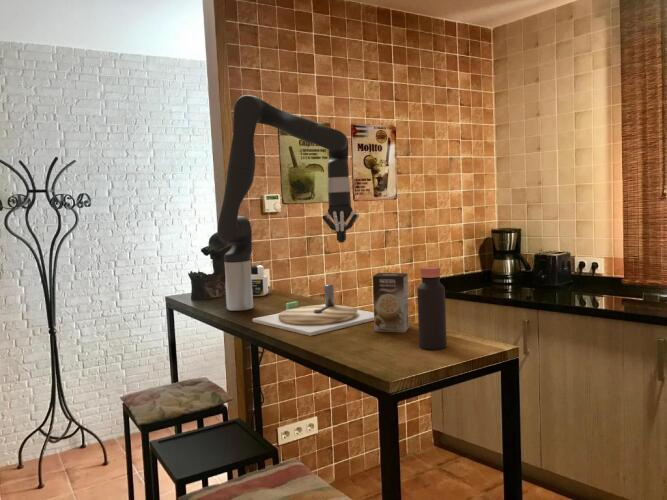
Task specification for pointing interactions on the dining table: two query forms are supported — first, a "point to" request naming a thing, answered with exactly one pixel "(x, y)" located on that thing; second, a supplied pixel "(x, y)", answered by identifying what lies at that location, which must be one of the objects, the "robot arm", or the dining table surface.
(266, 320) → the gauge plate
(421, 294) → the dark grey water bottle
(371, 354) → the dining table surface
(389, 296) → the coffee box
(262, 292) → the medicine bottle
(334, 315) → the tan round piece
